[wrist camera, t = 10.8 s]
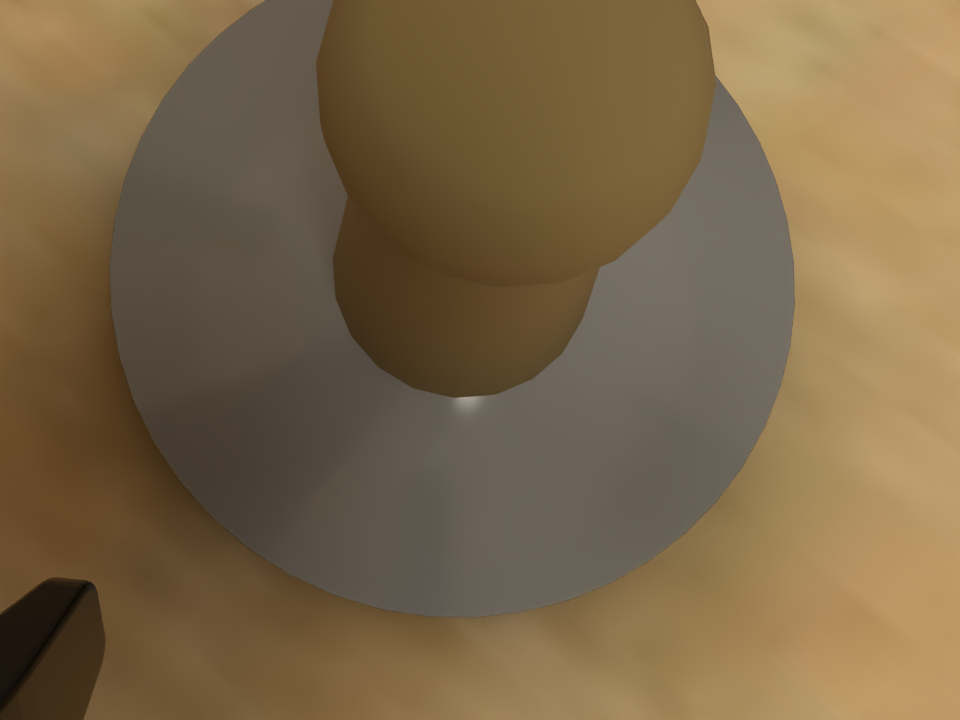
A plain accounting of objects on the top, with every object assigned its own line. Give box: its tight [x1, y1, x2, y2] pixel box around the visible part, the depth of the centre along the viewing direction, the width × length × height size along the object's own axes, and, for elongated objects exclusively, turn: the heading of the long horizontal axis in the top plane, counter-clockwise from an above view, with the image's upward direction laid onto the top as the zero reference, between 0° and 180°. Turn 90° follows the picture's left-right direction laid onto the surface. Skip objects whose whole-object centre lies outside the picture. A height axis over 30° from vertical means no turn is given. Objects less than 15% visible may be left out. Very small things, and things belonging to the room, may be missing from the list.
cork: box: [316, 0, 716, 398], centre depth 16 cm, size 6×6×11 cm
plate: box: [110, 0, 795, 617], centre depth 22 cm, size 16×16×1 cm
